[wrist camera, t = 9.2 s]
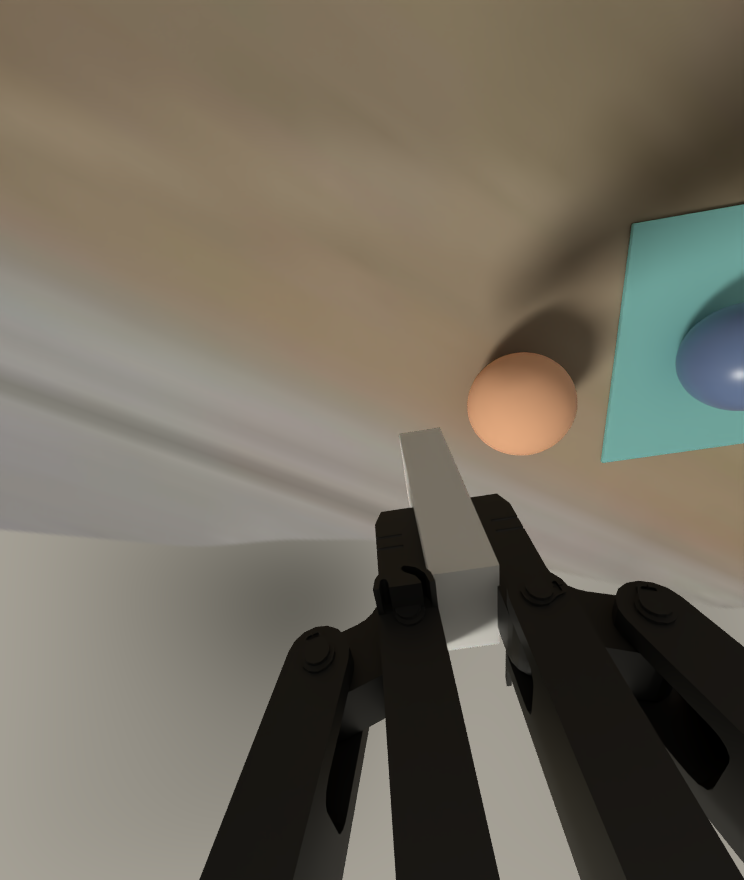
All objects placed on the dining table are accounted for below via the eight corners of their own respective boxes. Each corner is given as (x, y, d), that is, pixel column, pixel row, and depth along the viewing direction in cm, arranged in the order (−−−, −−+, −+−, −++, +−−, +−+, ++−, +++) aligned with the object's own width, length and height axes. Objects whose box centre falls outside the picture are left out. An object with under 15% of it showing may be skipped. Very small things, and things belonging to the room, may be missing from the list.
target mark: (600, 461, 26) (602, 462, 25) (631, 223, 19) (634, 223, 19) (822, 430, 25) (825, 431, 25) (930, 171, 18) (935, 170, 18)
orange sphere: (575, 480, 19) (555, 425, 24) (603, 379, 16) (574, 338, 21) (463, 471, 21) (464, 420, 25) (471, 376, 18) (470, 337, 22)
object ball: (782, 440, 18) (819, 400, 20) (825, 317, 15) (862, 289, 18) (648, 412, 22) (692, 382, 24) (665, 313, 19) (712, 290, 22)
